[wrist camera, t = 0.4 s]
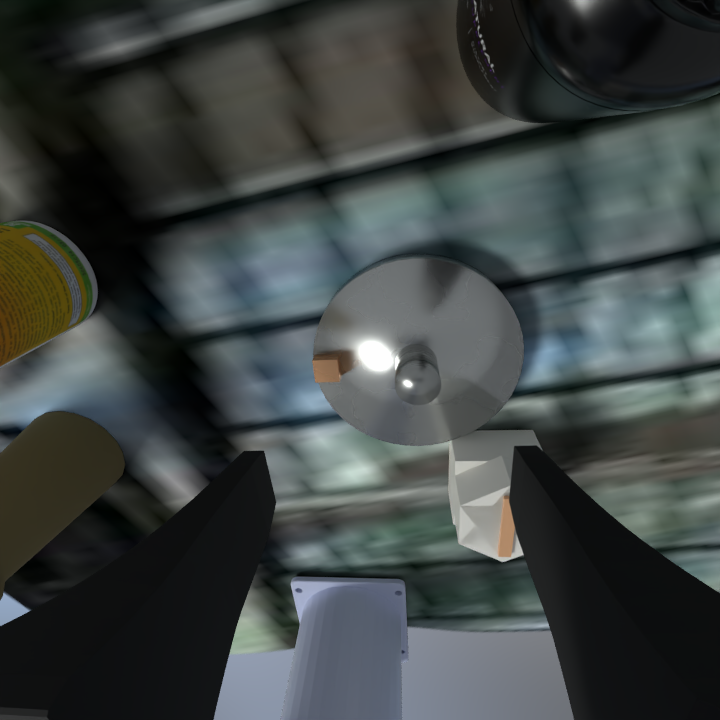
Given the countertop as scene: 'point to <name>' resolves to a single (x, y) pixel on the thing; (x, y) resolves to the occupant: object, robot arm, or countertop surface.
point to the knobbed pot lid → (418, 350)
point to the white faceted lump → (485, 490)
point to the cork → (51, 482)
